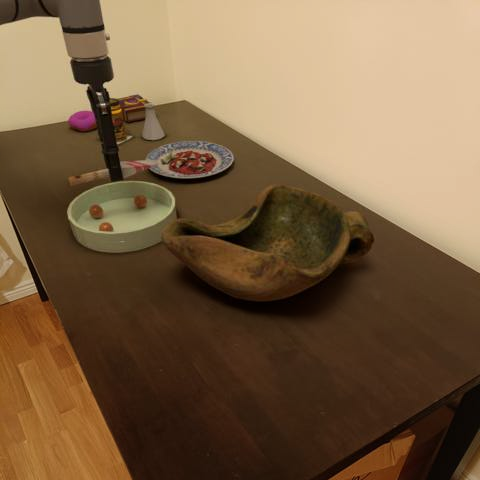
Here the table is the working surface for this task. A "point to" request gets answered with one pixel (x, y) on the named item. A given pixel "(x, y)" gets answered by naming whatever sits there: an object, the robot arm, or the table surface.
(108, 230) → the bead
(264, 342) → the table surface
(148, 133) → the flask
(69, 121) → the donut
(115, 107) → the condiment
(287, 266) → the bowl
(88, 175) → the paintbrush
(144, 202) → the bead
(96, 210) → the bead
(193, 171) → the ceramic plate
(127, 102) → the decorative book
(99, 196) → the bowl
